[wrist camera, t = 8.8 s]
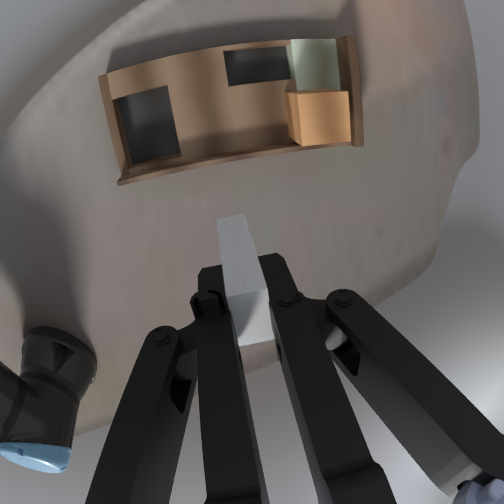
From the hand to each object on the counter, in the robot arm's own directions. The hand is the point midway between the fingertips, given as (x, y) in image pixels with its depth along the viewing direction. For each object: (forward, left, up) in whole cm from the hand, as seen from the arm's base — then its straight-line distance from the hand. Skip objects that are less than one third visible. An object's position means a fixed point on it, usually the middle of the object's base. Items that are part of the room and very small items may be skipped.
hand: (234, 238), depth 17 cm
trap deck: (+2, +6, -20) cm, 21 cm away
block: (+10, +4, -18) cm, 21 cm away
